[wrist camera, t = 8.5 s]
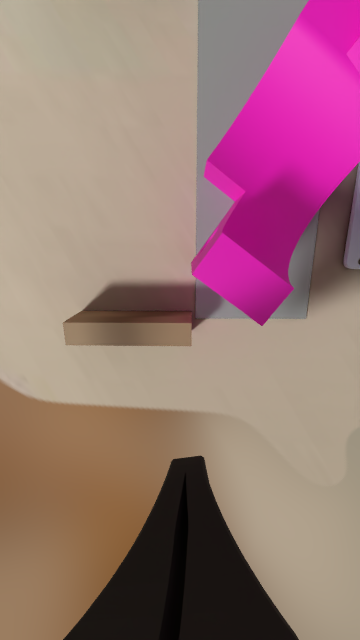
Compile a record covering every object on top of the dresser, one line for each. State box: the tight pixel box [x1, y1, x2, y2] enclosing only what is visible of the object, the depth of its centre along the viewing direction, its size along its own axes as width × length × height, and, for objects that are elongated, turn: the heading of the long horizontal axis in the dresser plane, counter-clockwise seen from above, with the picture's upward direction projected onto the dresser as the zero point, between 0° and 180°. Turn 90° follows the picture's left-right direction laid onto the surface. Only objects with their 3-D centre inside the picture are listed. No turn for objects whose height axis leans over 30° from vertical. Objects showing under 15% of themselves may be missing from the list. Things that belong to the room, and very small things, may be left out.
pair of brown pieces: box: [63, 311, 192, 346], centre depth 16 cm, size 8×21×3 cm, turn 0°
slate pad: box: [196, 0, 320, 319], centre depth 17 cm, size 8×19×1 cm, turn 0°
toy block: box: [191, 0, 360, 326], centre depth 13 cm, size 15×6×8 cm, turn 144°
